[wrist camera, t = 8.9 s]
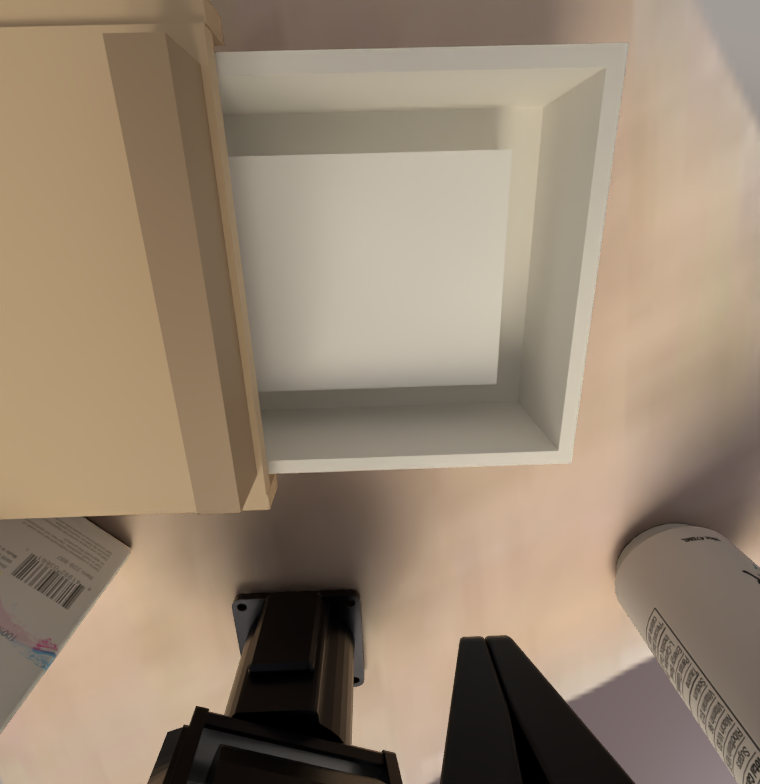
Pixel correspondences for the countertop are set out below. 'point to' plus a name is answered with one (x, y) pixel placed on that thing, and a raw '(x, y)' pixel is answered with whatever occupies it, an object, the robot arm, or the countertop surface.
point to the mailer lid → (121, 268)
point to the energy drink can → (701, 630)
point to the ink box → (46, 594)
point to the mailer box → (420, 247)
